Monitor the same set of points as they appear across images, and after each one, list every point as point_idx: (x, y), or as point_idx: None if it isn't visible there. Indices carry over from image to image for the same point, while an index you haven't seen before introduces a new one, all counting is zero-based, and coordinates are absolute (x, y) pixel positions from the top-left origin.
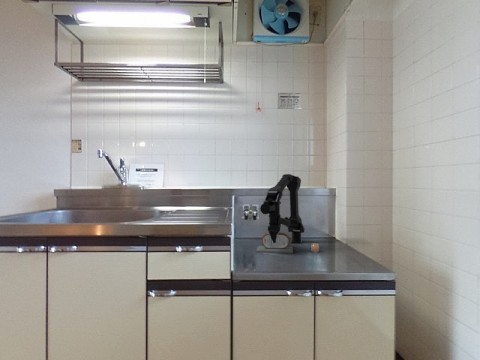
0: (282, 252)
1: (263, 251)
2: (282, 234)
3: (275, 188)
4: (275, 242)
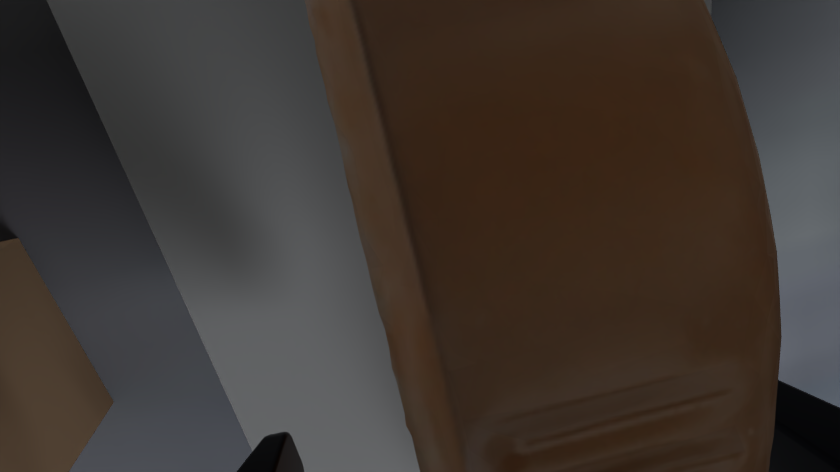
0: None
1: None
2: (777, 347)
3: None
4: None
